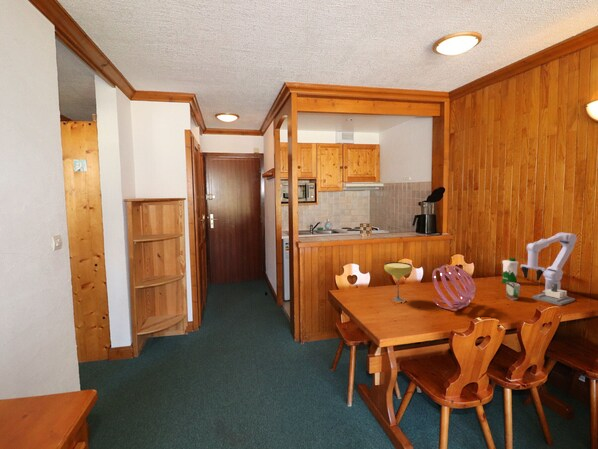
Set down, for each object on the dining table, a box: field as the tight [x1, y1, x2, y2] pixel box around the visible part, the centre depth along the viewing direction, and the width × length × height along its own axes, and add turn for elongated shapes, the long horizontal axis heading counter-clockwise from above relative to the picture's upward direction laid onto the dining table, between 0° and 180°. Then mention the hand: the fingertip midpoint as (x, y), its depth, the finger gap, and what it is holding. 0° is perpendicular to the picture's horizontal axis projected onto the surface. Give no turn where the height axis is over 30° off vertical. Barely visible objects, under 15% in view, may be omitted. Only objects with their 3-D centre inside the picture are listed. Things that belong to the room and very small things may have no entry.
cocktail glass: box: [383, 261, 413, 301], centre depth 211 cm, size 18×18×25 cm
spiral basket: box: [431, 264, 476, 311], centre depth 198 cm, size 28×28×27 cm
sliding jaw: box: [544, 283, 563, 299], centre depth 207 cm, size 4×8×9 cm, turn 27°
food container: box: [505, 282, 521, 302], centre depth 211 cm, size 12×6×10 cm, turn 168°
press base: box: [532, 289, 576, 306], centre depth 207 cm, size 18×16×6 cm
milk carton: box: [501, 257, 519, 284], centre depth 245 cm, size 9×9×20 cm
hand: (531, 279), depth 220 cm, fingers open, 7 cm apart
